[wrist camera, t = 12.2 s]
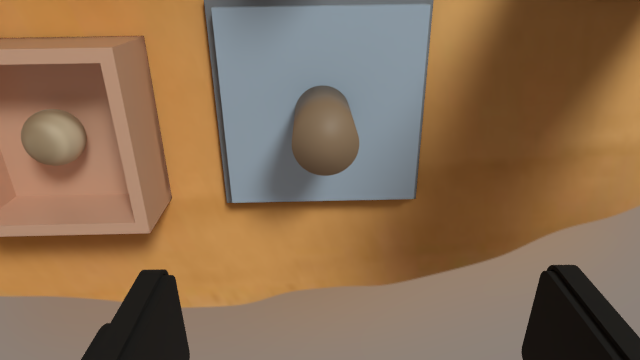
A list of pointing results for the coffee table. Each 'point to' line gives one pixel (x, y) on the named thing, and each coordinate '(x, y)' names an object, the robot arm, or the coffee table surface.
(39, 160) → the ball
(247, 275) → the coffee table surface
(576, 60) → the coffee table surface
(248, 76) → the lid
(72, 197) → the dish
